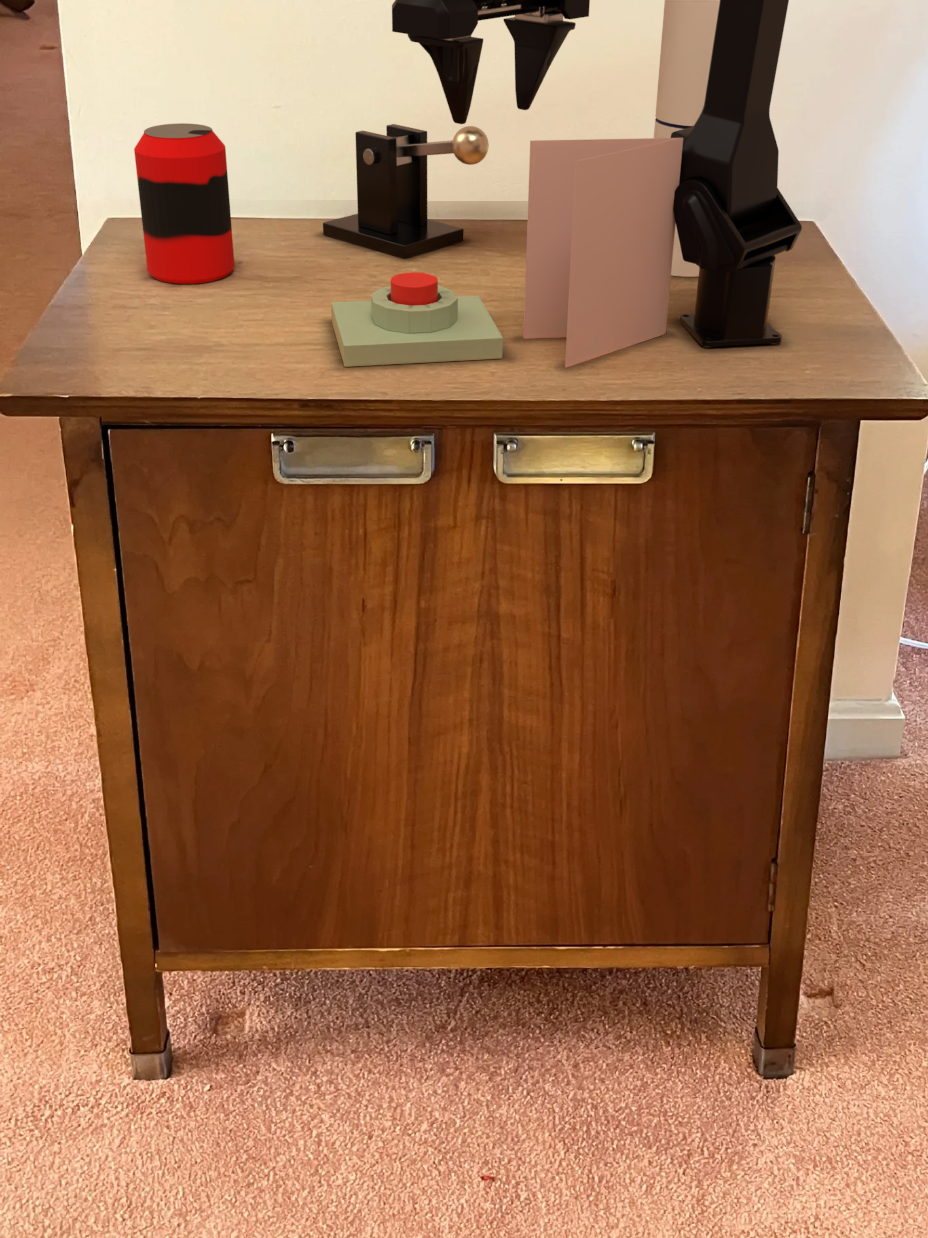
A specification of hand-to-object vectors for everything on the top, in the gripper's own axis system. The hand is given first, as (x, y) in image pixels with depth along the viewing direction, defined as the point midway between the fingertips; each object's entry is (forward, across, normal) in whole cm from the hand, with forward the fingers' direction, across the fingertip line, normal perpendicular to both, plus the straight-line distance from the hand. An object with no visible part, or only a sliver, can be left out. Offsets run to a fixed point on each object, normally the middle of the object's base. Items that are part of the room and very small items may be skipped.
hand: (491, 116), depth 116 cm
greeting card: (+13, +10, +20) cm, 26 cm away
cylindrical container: (+13, -13, +12) cm, 22 cm away
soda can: (+13, +20, -18) cm, 30 cm away
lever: (+5, 0, -7) cm, 9 cm away
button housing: (+13, +18, +8) cm, 24 cm away
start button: (+10, +19, +9) cm, 23 cm away
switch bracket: (+13, 0, -12) cm, 18 cm away
